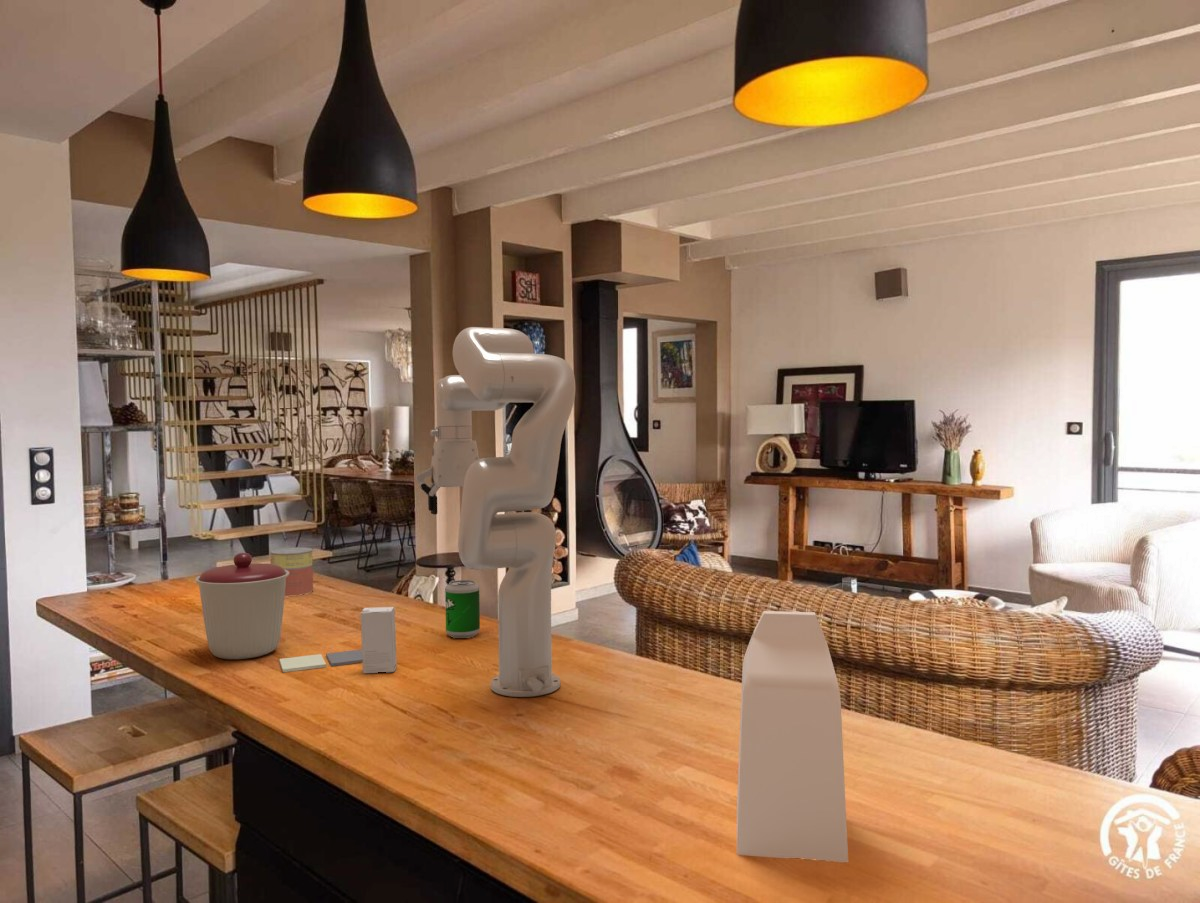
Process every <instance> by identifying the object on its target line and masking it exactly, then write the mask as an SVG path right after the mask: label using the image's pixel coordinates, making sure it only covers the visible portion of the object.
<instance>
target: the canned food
mask: <svg viewBox="0 0 1200 903" xmlns="http://www.w3.org/2000/svg"><path fill="white" fill-rule="evenodd" d="M313 551H314V550H313V548H311V547H304V546H303V547H298V546H297V547H293V546H292V547H282V548H275V549H272V550H270V551H269V553H270V564H273V565H277V566H280V567H282V568H283V569H285V570H287V571H289V576H288V577H286V585H285V596H290V595H300V594H306V593H310V592H312V591H313V590H314V570H313V568H314V567H313V560H314V559H313ZM313 592H314V591H313ZM313 592H312V593H313ZM310 594H311V593H310Z"/></svg>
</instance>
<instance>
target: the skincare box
mask: <svg viewBox="0 0 1200 903" xmlns="http://www.w3.org/2000/svg"><path fill="white" fill-rule="evenodd" d="M359 614H360V628H361V629H360V631H361V632H360V633H361V649H362V660H363V663H362V673H363V674H379V673H378V672H386V673H394V672H395V671H396V669H397V667H398V663H397V662H398V661H397V658H398V657H397V640H396V639H397V638H396V637H397V635H396V618H395V617H396V615H395V614H396V612H395V606H383V607H382V606H379V607H376V606H373V607H364V608H363V609H362V610H361V612H360V613H359Z"/></svg>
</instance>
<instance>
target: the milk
mask: <svg viewBox="0 0 1200 903" xmlns="http://www.w3.org/2000/svg"><path fill="white" fill-rule="evenodd" d="M741 671H742V672H741V673H742V674H741V695H740V697H741V698H740V700H741V701H740V723H739V741H738V742H739V744H738V745H739V746H738V747H739V748H738V750H739V751H738V766H737V767H738V771H737V794H736V795H737V796H736V855H737V856H750V857H762V858H764V857H765V858H775V859H776V858H778V859H779V858H780V859H789V858H804V859H816V860H815V861H817V860H827V861H826V862H830V861H836V862H835V863H844V862H848V863H849V853H848V852H849V848H848V830H847V829H848V828H847V826H848V825H847V809H846V808H847V807H846V784H845V767H844V766H845V765H844V764H845V762H844V744H843V743H844V742H843V739H844V738H843V725H842V724H843V723H842V722H843V721H842V702H841V692H840V687H839V683H838V682H839V681H838V678H837V674H836V671H835V667H834V663H833V661H832V656H831V652H830V649H829V646H828V643H827V639H826V636H825V634H824V630H823V629H822V627H821V624H820V622H819V619H818V617H817V614H816V612H815V611H814V612H811V611H785V610H784V611H783V610H781V611H777V610H763V611H762V613H761V615H760V617H759V619H758V621H757V624H756V626H755V628H754V630H753V632H752V635H751V637H750V640H749V643H748V645H747V648H746V651H745V654H744V657H743V661H742V670H741ZM837 861H838V862H837Z"/></svg>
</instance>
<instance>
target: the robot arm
mask: <svg viewBox="0 0 1200 903" xmlns="http://www.w3.org/2000/svg"><path fill="white" fill-rule="evenodd" d="M534 352H535V351H534V345H533V342H532V340H531V339H530V337H528V335H526V334H525V333H524V332H523V331H521V330H518V329H513V328H503V327H483V326H481V327H480V326H478V327H477V326H469V327H465V328H464V329H462V330H461V331H460V332H459V333H458V335H456V337H455V339H454V342H453V347H452V360H453V364H454V367H455V369H456V371H457V373H458V374H452V375H451V374H450V375H446V376H445V377H443V378H440V379H438V380H437V382H436V387H435V389H436V390H435V391H436V427H435V428H433V429H430V430H429V431H430V432H429V433H430V436H431V437H435V439H436V441H434V442H433V448H432V452H431V455H432V456H431V463H430V464H431V465H430V467H429V468H428V469H426V470H424V471H422V472H420V473H418V474H417V475H415V477H414V478H415V480H416V482H417V484H418V486H419V488H420V489H421V490H422V491H423V492H424V493H425V494H426V495H427V496H428V498H427V499H428V500H427V501H428V504H427V505H428V511H430V514H432V515H438V496H437V495H436V494H437V492H438V491H439V490H440V488H456V487H460V488H461V487H462V496H461V507H460V513H459V514H460V516H459V525H458V536H457V550H458V551H457V552H458V555H459V556H458V557H459V560H460V561H461V563H462V564H463V565H464V567H466V568H467V569H470V570H474V571H475V570H477V571H478V570H479V571H480V570H481V571H482V570H492V569H493V570H494V569H505V568H508V570H507V572H506V573H505V575H504V577H503V578H502V580H501V583H500V584H499V588H498V592H497V593H498V594H497V600H498V601H497V603H498V604H497V605H498V607H497V610H498V611H497V612H498V620H497V621H498V675H496V676H494V677H493V678H492V679H491V680H490V689H491V690H492V692H494V693H495V694H498V695H501V696H506V697H512V698H513V697H514V698H530V697H531V698H532V697H540V696H544V695H548V694H551V693H553V692H555V691H557V690H558V689H559V688H560V687H561V678H560V677H559V676H558V675H556V674H555V673H553V672H552V670H553V669H552V666H553V665H552V659H553V658H552V652H553V650H552V573H553V572H552V571H553V563H554V557H555V551H556V544H557V531H556V527H555V523H553V521H552V520H551V519H550V517H548V516H547V515H544V514H542V513H539V512H532V511H534V510H541V509H544V508H545V507H548V505H549V504H550V503H551V502H552V499H553V498H554V493H555V489H556V482H557V476H558V475H557V474H558V468H559V461H560V453H561V447H562V446H561V444H562V439H563V435H564V433H565V432H564V431H565V429H566V426H567V423H568V421H569V418H570V417H571V416H570V415H571V414H572V410H573V408H574V403H575V397H576V378H575V373H574V370H573V368H572V366H571V364H570V363H569V362H568V361H567V360H565V359H564V358H561V357H559V356H555V355H551V354H544V353H534ZM510 403H533V405H532V406H531V407H530V409H528V410H527V411H526V412H525V413H524V414H523V415H522V416H521V418H520V419H519V421H518V422H517V424H515V426H514V429H513V431H512V435H511V445H510V450H509V453H508V454H507V455H506V456H495V457H493V456H492V457H491V456H490V457H482V458H480V456H479V449H478V445H477V440H473V424H472V423H473V421H472V420H473V419H472V418H473V417H472V411H475V412H477V411H479V412H481V411H485V412H491V411H498V410H502V408H504V407H506V406H507V405H508V404H510ZM429 476H430V479H431V480H430V481H431V485H430V486H428V485H427V483H426V482H425V479H426V478H427V477H429ZM523 511H524V512H523ZM505 512H507V513H505ZM508 512H509V513H508ZM498 513H500V514H498Z"/></svg>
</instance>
